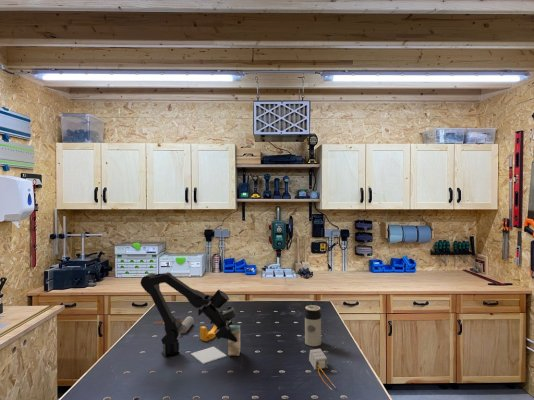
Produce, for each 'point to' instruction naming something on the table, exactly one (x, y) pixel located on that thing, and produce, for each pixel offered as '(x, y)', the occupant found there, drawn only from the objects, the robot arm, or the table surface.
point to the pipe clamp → (207, 333)
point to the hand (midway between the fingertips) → (237, 338)
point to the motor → (184, 324)
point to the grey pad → (208, 355)
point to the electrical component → (319, 362)
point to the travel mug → (312, 325)
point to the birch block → (234, 346)
